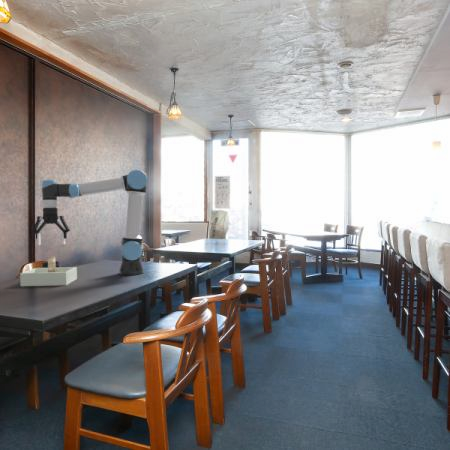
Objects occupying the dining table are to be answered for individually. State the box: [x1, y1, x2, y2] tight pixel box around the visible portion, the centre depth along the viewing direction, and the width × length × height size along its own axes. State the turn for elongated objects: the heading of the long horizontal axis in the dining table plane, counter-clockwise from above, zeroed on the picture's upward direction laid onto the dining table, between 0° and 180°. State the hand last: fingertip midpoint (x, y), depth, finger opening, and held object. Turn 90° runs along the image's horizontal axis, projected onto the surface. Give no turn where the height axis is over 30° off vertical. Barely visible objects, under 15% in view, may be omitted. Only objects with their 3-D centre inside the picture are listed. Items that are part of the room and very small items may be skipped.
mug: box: [41, 261, 61, 268], centre depth 226 cm, size 9×12×9 cm
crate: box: [19, 266, 78, 287], centre depth 209 cm, size 24×18×7 cm
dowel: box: [47, 256, 56, 272], centre depth 212 cm, size 4×4×14 cm
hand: (51, 244), depth 212 cm, fingers open, 13 cm apart
